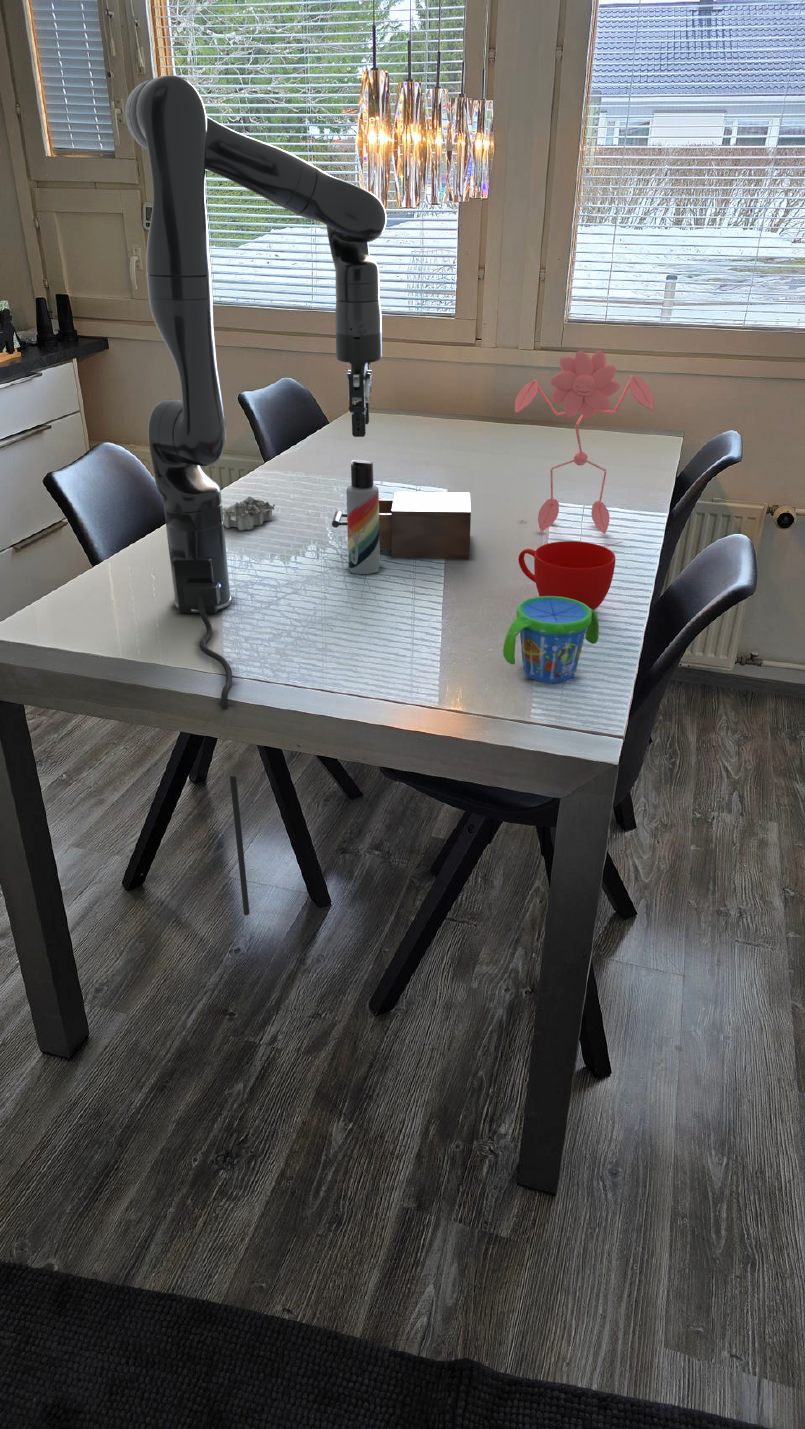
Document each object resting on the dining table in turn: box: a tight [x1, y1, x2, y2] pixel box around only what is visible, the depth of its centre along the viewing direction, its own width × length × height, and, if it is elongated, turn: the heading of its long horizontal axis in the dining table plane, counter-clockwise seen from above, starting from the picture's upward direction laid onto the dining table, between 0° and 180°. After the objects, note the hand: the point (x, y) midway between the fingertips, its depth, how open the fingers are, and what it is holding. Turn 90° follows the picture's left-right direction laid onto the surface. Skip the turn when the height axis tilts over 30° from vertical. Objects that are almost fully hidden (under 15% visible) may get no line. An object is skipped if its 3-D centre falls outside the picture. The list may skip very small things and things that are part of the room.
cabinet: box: [391, 491, 472, 560], centre depth 191 cm, size 15×12×9 cm
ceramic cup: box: [517, 540, 616, 611], centre depth 165 cm, size 13×17×10 cm
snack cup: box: [502, 596, 600, 684], centre depth 144 cm, size 16×10×10 cm
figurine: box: [514, 350, 655, 548], centre depth 190 cm, size 15×26×35 cm, turn 80°
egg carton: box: [222, 496, 276, 531], centre depth 206 cm, size 11×8×4 cm
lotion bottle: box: [345, 459, 381, 575], centre depth 178 cm, size 6×6×20 cm
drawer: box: [331, 498, 393, 551], centre depth 191 cm, size 18×11×7 cm, turn 88°
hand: (360, 430), depth 171 cm, fingers open, 8 cm apart
